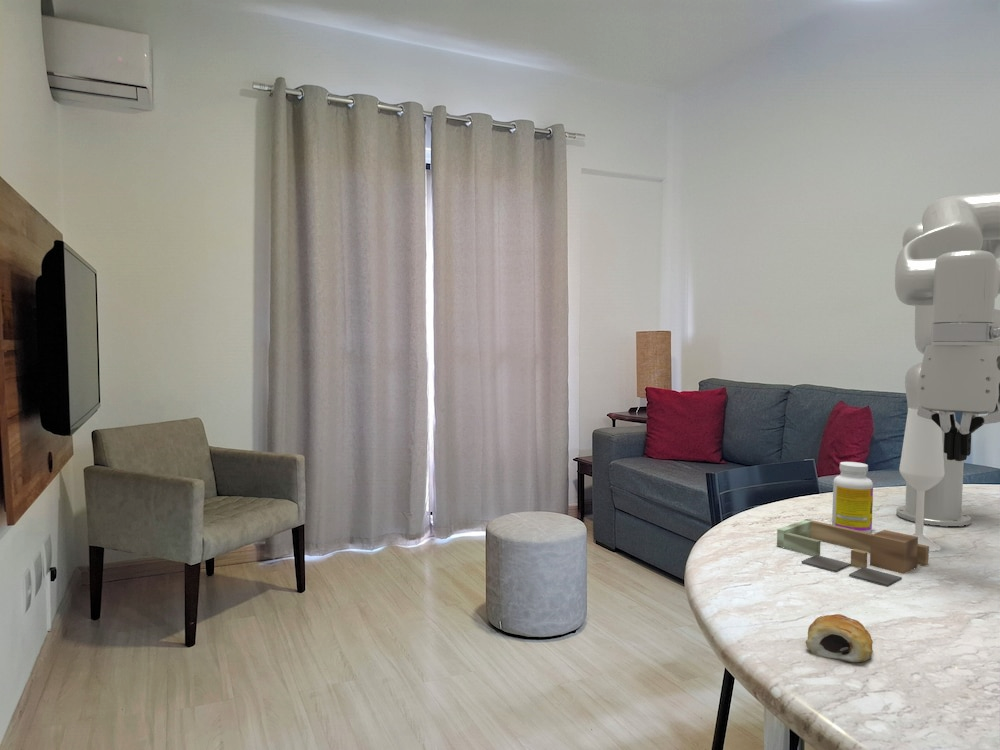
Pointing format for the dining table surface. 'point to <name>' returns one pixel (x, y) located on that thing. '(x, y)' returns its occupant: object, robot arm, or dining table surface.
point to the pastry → (839, 638)
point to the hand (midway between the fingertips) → (956, 459)
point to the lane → (811, 533)
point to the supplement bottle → (853, 497)
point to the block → (893, 551)
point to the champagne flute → (922, 464)
